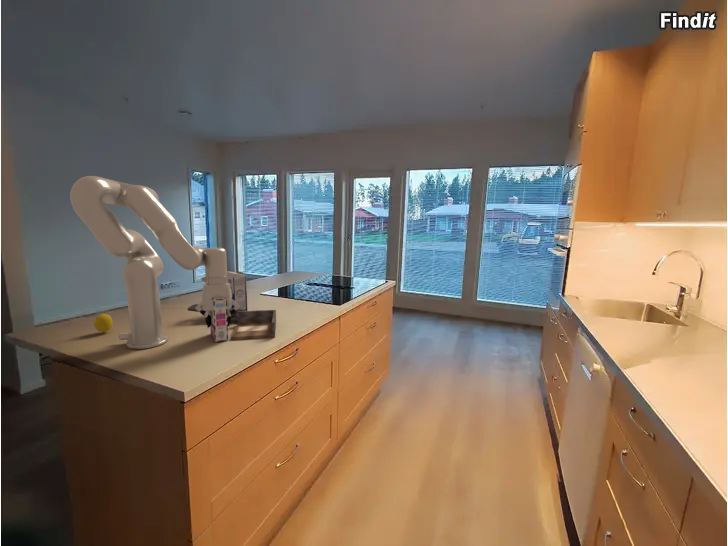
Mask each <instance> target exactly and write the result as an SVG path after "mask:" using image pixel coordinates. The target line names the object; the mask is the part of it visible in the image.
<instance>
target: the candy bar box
mask: <svg viewBox="0 0 728 546" xmlns="http://www.w3.org/2000/svg"><path fill="white" fill-rule="evenodd" d="M209 314H210V316H211V326H210V327H209V328H210V335H211V337H212V340H213V341H214V343H221V342H226V341H229V329H228V328H229V327H228V320H227V298H212V311H210V313H209Z"/></svg>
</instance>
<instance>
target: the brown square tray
mask: <svg viewBox="0 0 728 546" xmlns="http://www.w3.org/2000/svg"><path fill="white" fill-rule="evenodd" d="M237 319H238V323H237V324H236V326H235V328H234V331H233V333H232V335H231V338H230V339H231V340H232V341H234V340H235V341H238V340H240V341H241V340H254V339H255V338H258V339H272V338H274V339H275V338H276V332H275V331H277V329H276V328H277V310H276V309H263V310H262V309H261V310H259V309H258V310H247V311H237Z"/></svg>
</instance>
